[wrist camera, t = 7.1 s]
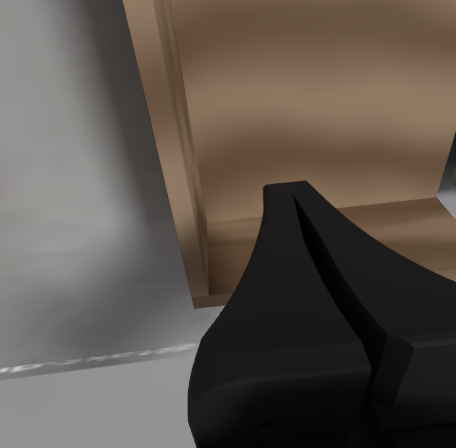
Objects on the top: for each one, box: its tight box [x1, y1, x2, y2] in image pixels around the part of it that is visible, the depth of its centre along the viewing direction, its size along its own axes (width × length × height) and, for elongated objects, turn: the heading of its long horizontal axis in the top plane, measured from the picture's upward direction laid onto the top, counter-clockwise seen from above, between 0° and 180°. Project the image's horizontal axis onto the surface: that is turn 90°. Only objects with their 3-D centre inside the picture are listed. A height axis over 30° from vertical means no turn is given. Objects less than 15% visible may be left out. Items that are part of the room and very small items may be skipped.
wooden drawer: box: [123, 0, 456, 309], centre depth 15 cm, size 20×14×7 cm
